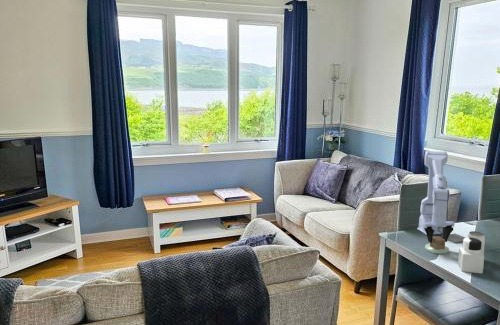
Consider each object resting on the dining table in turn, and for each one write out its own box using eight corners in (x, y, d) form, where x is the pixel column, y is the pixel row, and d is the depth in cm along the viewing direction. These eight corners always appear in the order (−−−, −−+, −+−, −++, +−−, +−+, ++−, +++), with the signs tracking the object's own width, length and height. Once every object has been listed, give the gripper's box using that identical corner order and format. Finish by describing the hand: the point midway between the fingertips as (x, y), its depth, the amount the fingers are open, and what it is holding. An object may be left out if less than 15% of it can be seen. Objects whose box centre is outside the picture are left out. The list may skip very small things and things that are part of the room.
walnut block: (429, 245, 176) (430, 236, 176) (438, 245, 177) (439, 236, 176) (435, 249, 172) (436, 240, 171) (444, 249, 172) (445, 239, 172)
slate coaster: (441, 236, 190) (441, 235, 190) (455, 234, 193) (455, 233, 193) (455, 243, 182) (455, 241, 182) (469, 241, 184) (470, 239, 184)
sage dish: (420, 246, 179) (420, 243, 179) (440, 245, 180) (440, 242, 180) (433, 254, 169) (433, 252, 169) (453, 253, 170) (453, 251, 170)
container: (478, 265, 158) (481, 236, 156) (482, 274, 151) (485, 243, 148) (457, 263, 160) (460, 235, 158) (461, 271, 153) (464, 241, 151)
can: (462, 256, 167) (464, 231, 165) (476, 255, 168) (478, 230, 165) (472, 262, 161) (474, 236, 159) (486, 262, 161) (489, 235, 159)
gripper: (429, 217, 167) (427, 245, 169) (459, 215, 169) (457, 243, 171) (420, 212, 174) (419, 239, 176) (449, 210, 175) (447, 238, 178)
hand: (437, 241), depth 174 cm, fingers open, 7 cm apart
